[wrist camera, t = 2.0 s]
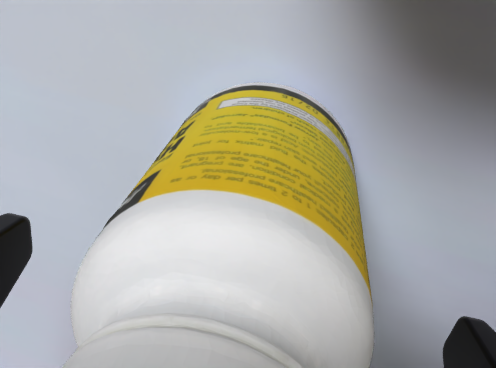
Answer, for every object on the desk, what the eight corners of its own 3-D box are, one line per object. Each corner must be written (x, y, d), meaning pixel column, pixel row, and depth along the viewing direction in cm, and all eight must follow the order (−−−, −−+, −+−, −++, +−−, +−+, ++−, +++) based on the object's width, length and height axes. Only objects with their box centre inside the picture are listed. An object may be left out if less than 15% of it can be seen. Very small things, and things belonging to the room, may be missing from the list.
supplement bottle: (192, 55, 12) (-78, 296, 4) (378, 105, 12) (510, 459, 4) (167, 211, 15) (-27, 555, 7) (320, 252, 15) (323, 653, 7)
